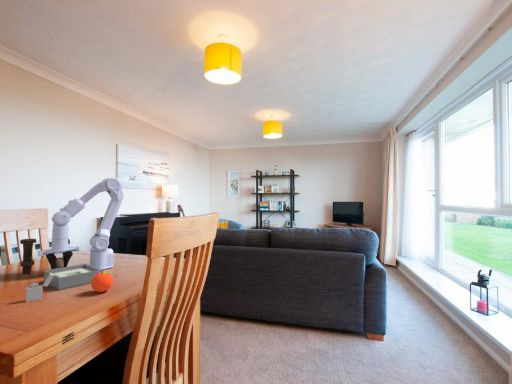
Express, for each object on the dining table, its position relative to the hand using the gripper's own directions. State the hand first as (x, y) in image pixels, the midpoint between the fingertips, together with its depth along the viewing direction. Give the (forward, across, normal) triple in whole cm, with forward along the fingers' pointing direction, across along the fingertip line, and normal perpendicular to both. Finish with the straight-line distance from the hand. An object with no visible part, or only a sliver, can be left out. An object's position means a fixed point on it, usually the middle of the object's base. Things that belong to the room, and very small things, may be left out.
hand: (58, 269), depth 114 cm
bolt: (+2, +8, -12) cm, 15 cm away
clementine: (+2, -2, +37) cm, 37 cm away
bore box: (+2, 0, +16) cm, 16 cm away
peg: (+2, 0, 0) cm, 2 cm away
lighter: (+2, +14, +28) cm, 31 cm away
